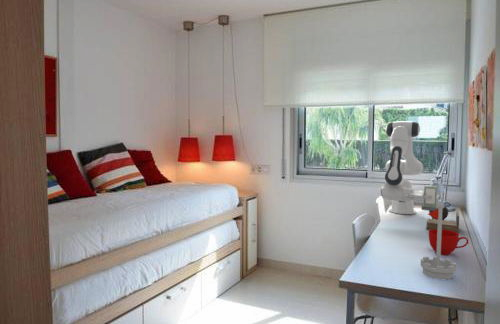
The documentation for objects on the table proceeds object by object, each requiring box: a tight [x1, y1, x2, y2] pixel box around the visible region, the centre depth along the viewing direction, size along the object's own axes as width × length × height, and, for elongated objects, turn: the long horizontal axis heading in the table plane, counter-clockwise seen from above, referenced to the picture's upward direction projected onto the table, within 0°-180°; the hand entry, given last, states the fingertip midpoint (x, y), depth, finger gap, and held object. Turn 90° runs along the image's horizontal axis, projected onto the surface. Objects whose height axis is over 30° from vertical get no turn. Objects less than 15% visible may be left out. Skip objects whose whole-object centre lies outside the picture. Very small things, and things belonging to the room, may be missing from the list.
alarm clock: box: [428, 197, 449, 220], centre depth 247 cm, size 11×5×16 cm, turn 84°
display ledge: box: [426, 211, 460, 234], centre depth 228 cm, size 14×17×10 cm
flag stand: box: [419, 201, 457, 280], centre depth 151 cm, size 13×13×30 cm
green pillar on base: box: [421, 184, 438, 212], centre depth 231 cm, size 9×9×14 cm
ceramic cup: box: [428, 229, 469, 256], centre depth 179 cm, size 13×17×10 cm
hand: (431, 196), depth 230 cm, fingers closed on green pillar on base, 4 cm apart
